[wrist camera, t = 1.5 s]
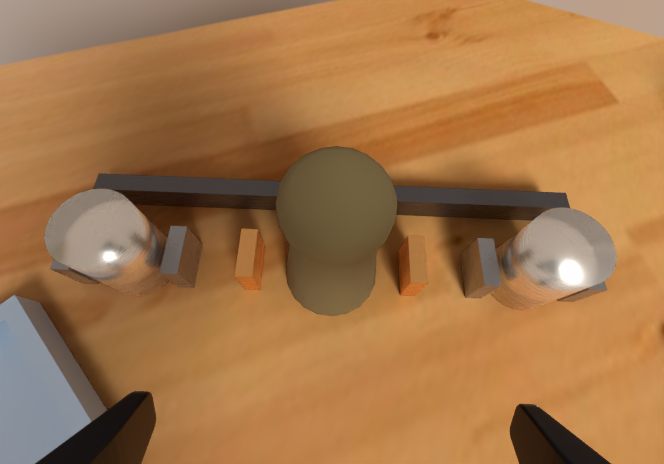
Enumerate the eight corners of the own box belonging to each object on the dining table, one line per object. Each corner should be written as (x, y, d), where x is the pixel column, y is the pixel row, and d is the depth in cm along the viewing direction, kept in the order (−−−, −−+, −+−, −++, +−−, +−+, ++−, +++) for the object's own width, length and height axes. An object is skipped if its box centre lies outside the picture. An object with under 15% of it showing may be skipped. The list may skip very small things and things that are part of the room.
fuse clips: (576, 312, 23) (655, 288, 18) (79, 293, 23) (1, 263, 17) (550, 206, 26) (610, 158, 21) (113, 188, 26) (57, 134, 20)
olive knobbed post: (320, 214, 26) (320, 101, 15) (392, 260, 24) (443, 170, 14) (267, 281, 23) (227, 200, 13) (343, 335, 22) (360, 291, 12)
